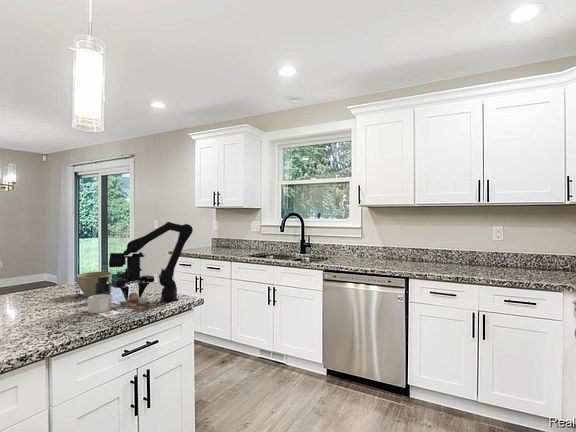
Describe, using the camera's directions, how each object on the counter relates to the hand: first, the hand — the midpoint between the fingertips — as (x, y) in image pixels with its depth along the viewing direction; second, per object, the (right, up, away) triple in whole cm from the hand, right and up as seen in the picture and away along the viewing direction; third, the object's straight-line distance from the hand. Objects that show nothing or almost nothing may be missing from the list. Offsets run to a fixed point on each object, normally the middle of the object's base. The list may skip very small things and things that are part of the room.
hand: (133, 299), depth 157 cm
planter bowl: (-28, -2, +16) cm, 32 cm away
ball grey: (+7, +1, -5) cm, 9 cm away
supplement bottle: (-17, -2, +4) cm, 17 cm away
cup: (-9, -2, -12) cm, 15 cm away
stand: (+4, -2, -3) cm, 5 cm away
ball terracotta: (0, +1, 0) cm, 1 cm away
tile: (-2, -2, -17) cm, 17 cm away
